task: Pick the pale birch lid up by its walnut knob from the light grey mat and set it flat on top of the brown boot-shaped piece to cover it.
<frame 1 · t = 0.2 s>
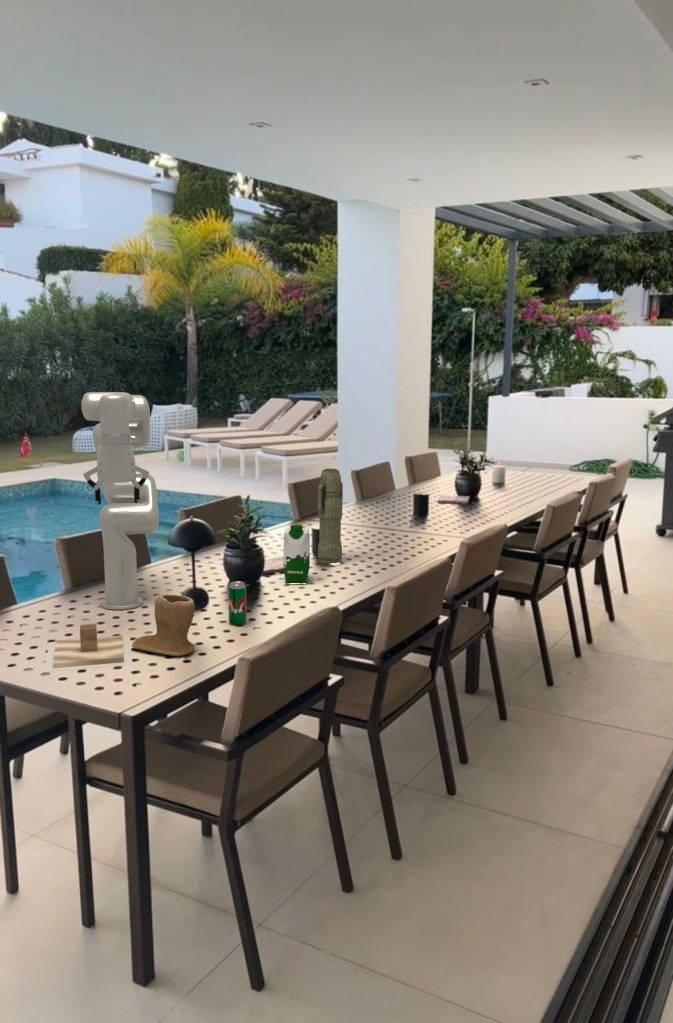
hand: (117, 503, 234), 36 cm above the table, tool pointing down, fingers open, 9 cm apart
grey mat: (89, 655, 221), on the table
soda can: (237, 623, 248), on the table
milk carton: (296, 582, 292), on the table
birch lid: (89, 653, 221), point 1 cm above the table, touching grey mat
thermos: (329, 564, 316), on the table
brown boot-shaped piece: (168, 651, 226), on the table
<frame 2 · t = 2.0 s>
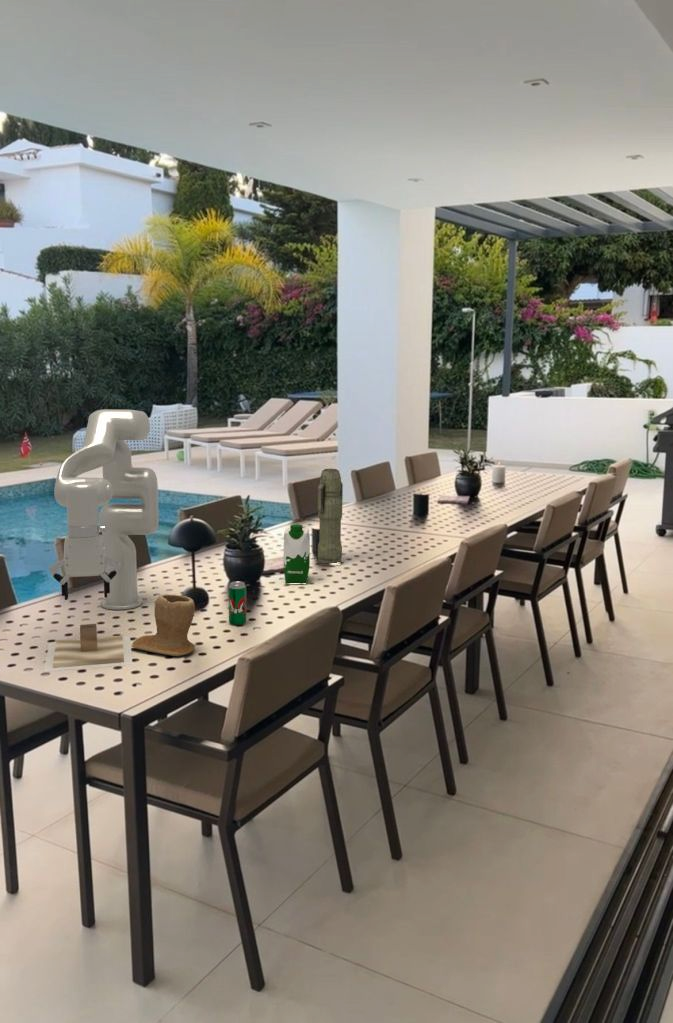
hand: (86, 597, 218), 16 cm above the table, tool pointing down, fingers open, 9 cm apart
nothing on the table moved.
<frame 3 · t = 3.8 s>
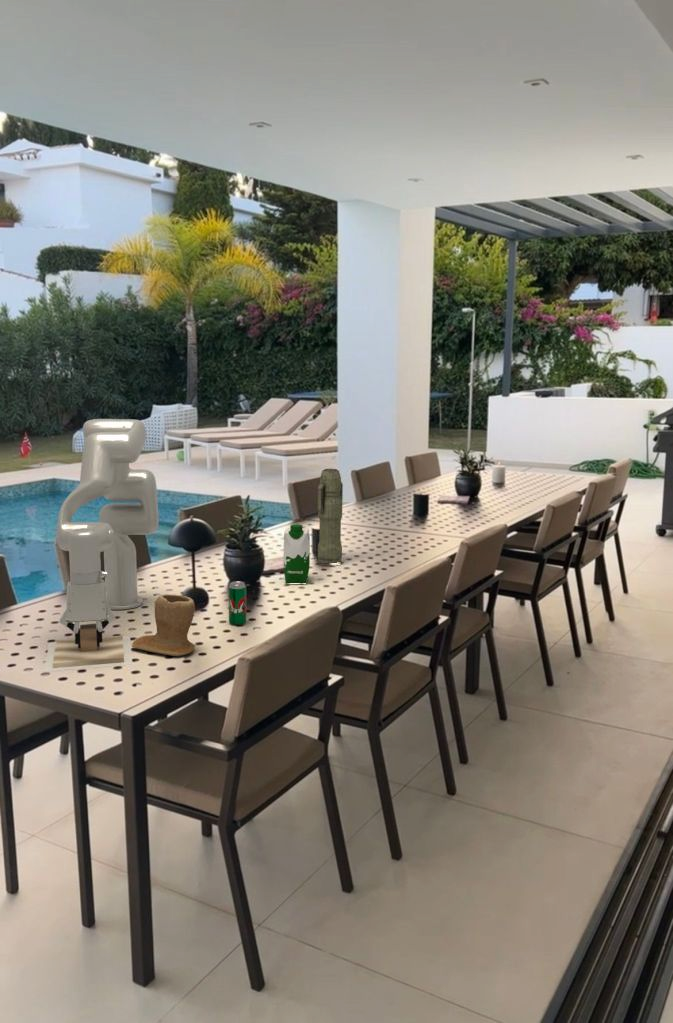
hand: (89, 645, 221), 3 cm above the table, tool pointing down, fingers closed on birch lid, 4 cm apart
birch lid: (89, 653, 221), point 1 cm above the table, touching grey mat, gripper
everything else where it was.
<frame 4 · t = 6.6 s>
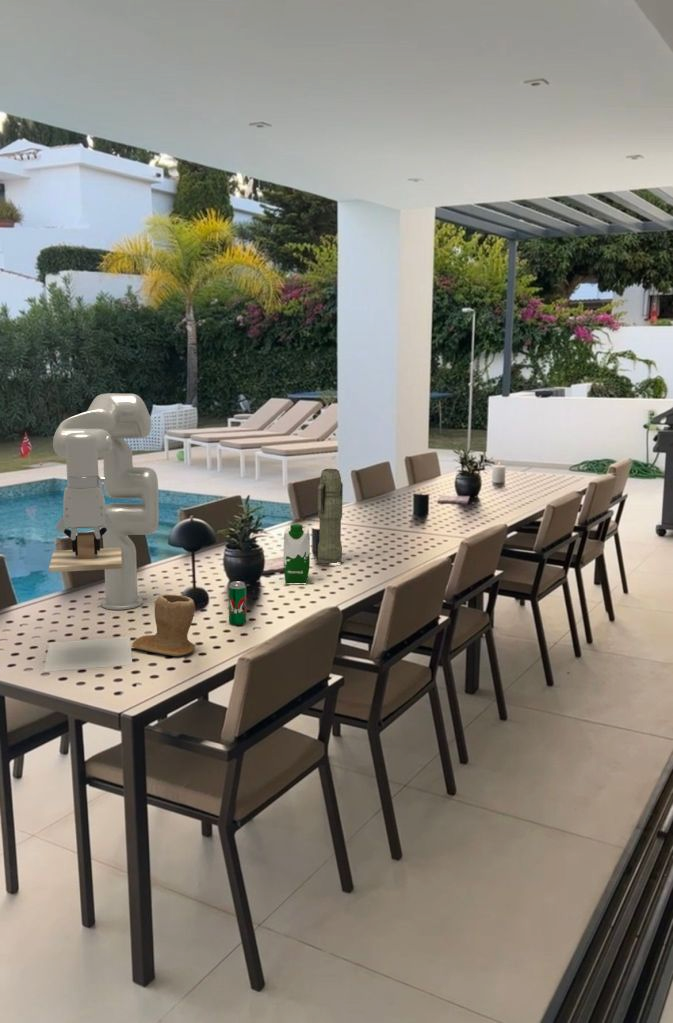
hand: (86, 553, 216), 27 cm above the table, tool pointing down, fingers closed on birch lid, 4 cm apart
birch lid: (86, 561, 217), point 25 cm above the table, touching gripper
everything else where it was.
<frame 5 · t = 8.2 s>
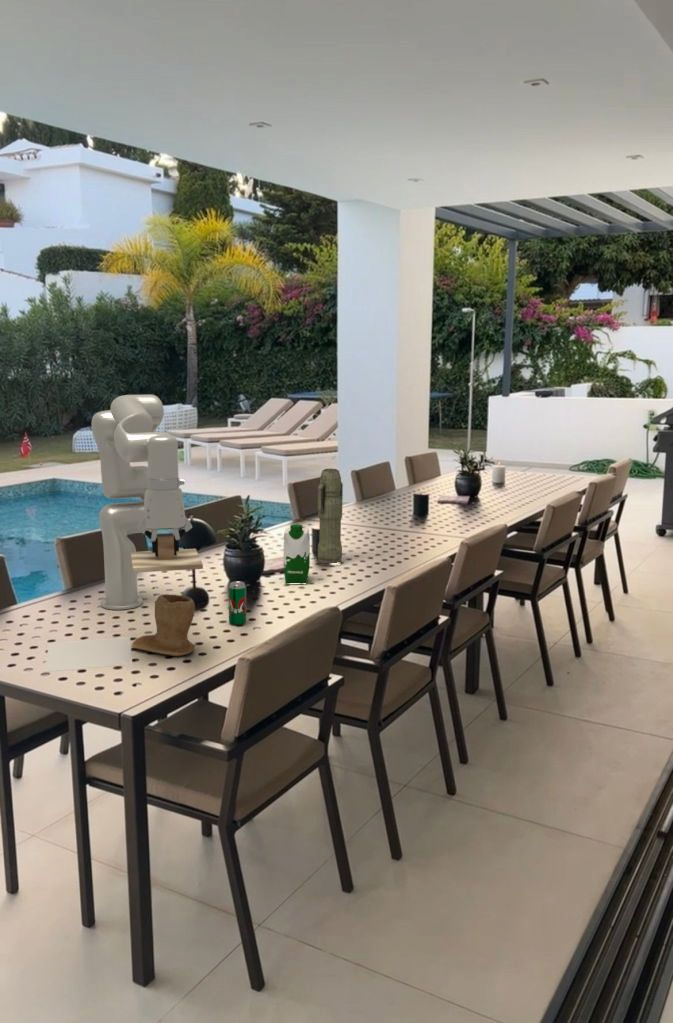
hand: (165, 554, 220), 26 cm above the table, tool pointing down, fingers closed on birch lid, 4 cm apart
birch lid: (166, 562, 221), point 24 cm above the table, touching gripper
everything else where it was.
when the fingers open (19 cm above the table, at t = 9.6 s): birch lid drops 2 cm, resting on brown boot-shaped piece.
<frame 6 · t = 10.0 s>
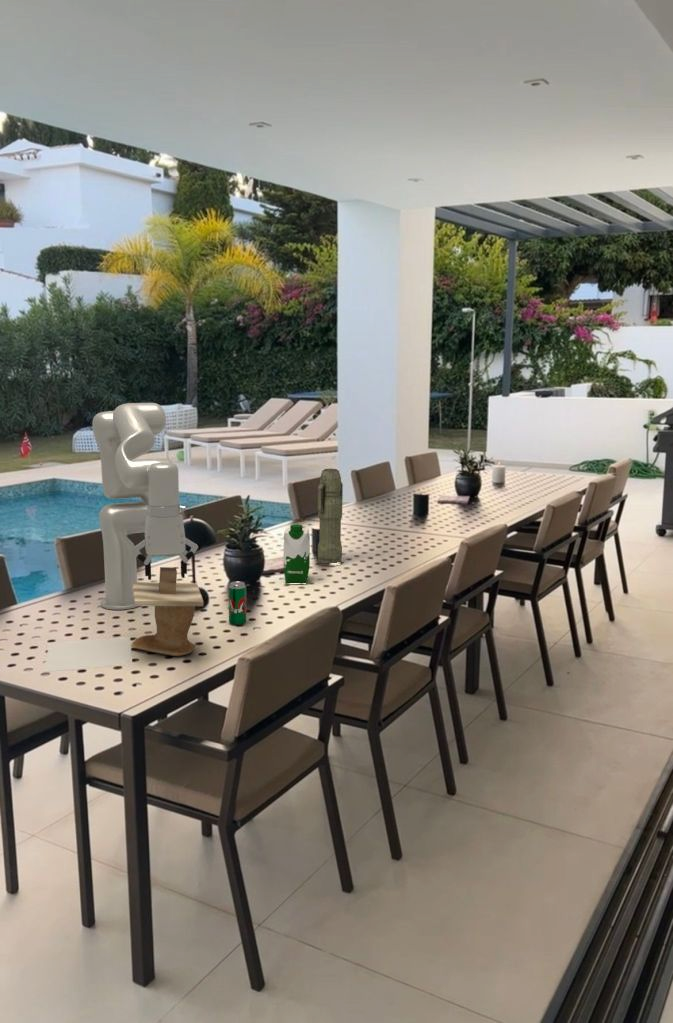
hand: (166, 577, 222), 20 cm above the table, tool pointing down, fingers open, 8 cm apart
birch lid: (166, 596, 223), point 15 cm above the table, touching brown boot-shaped piece
brown boot-shaped piece: (168, 651, 226), on the table, touching birch lid
everything else where it was.
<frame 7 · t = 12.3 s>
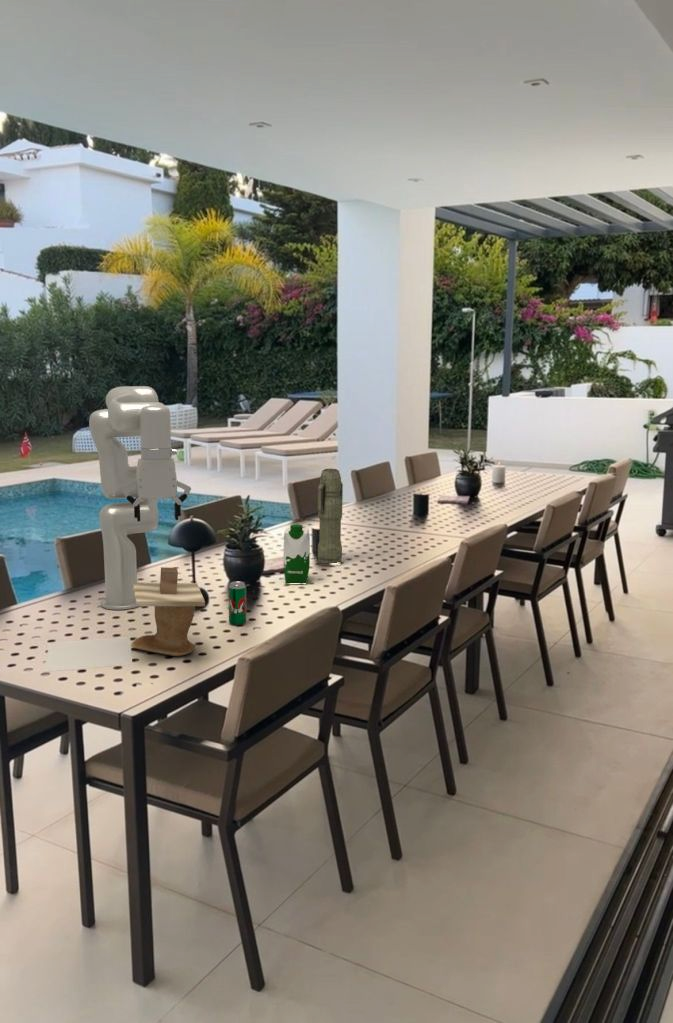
hand: (157, 519, 222), 35 cm above the table, tool pointing down, fingers open, 9 cm apart
nothing on the table moved.
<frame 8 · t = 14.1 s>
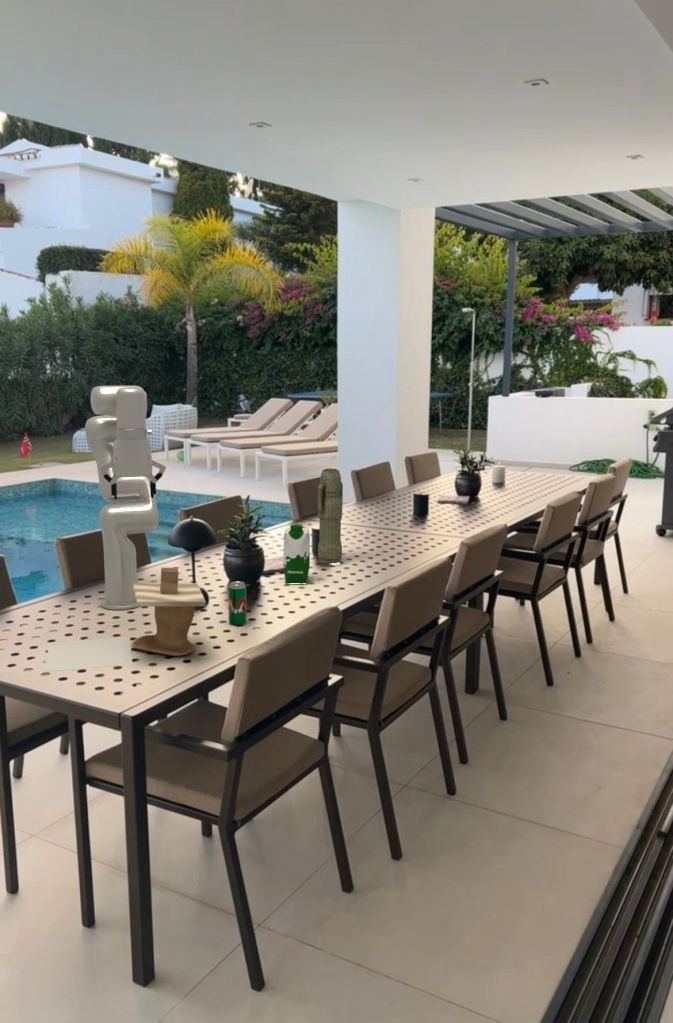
hand: (134, 497, 231), 38 cm above the table, tool pointing down, fingers open, 9 cm apart
nothing on the table moved.
at the end: birch lid 0.5 cm off-centre on the brown boot-shaped piece, point 15.1 cm above the brown boot-shaped piece's base; birch lid tilted 5°; the gripper is holding nothing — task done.
